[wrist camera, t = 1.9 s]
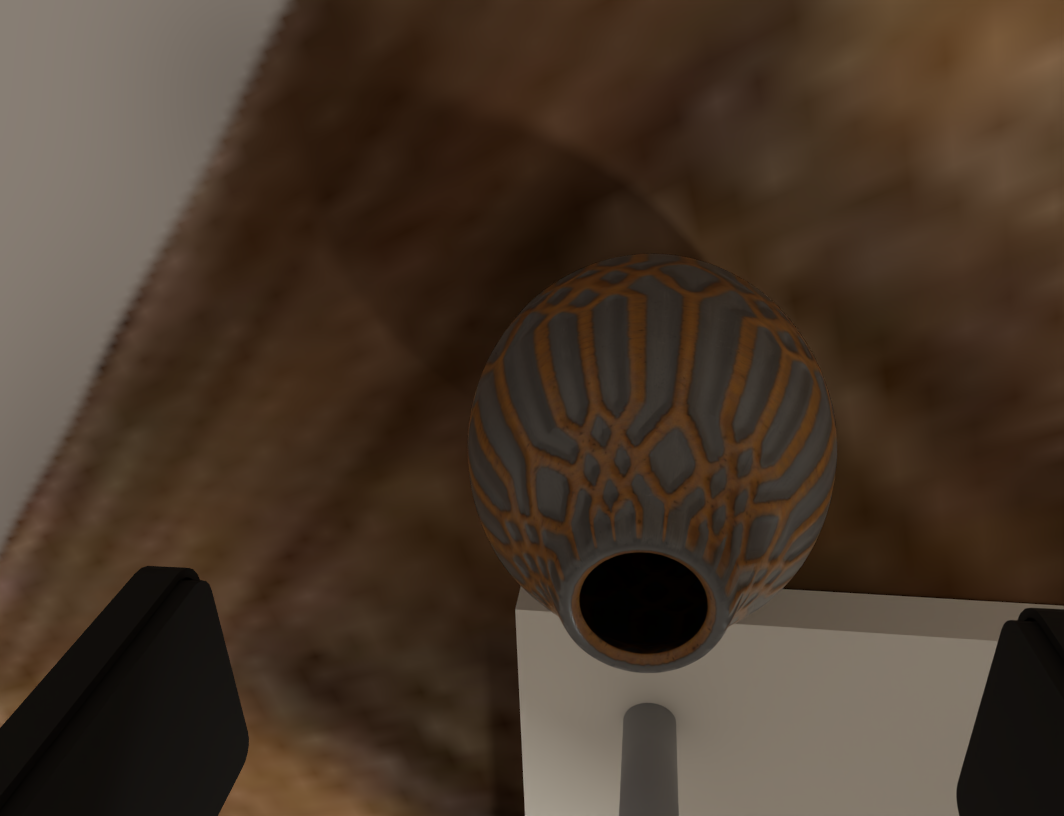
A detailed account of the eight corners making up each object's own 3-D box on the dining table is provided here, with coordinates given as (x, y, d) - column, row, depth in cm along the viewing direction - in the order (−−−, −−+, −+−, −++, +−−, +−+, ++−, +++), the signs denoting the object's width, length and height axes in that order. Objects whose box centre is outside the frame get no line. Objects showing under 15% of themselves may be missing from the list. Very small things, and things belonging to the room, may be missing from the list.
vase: (830, 458, 20) (944, 753, 12) (558, 520, 21) (501, 812, 14) (762, 177, 17) (851, 313, 9) (460, 274, 19) (320, 458, 11)
